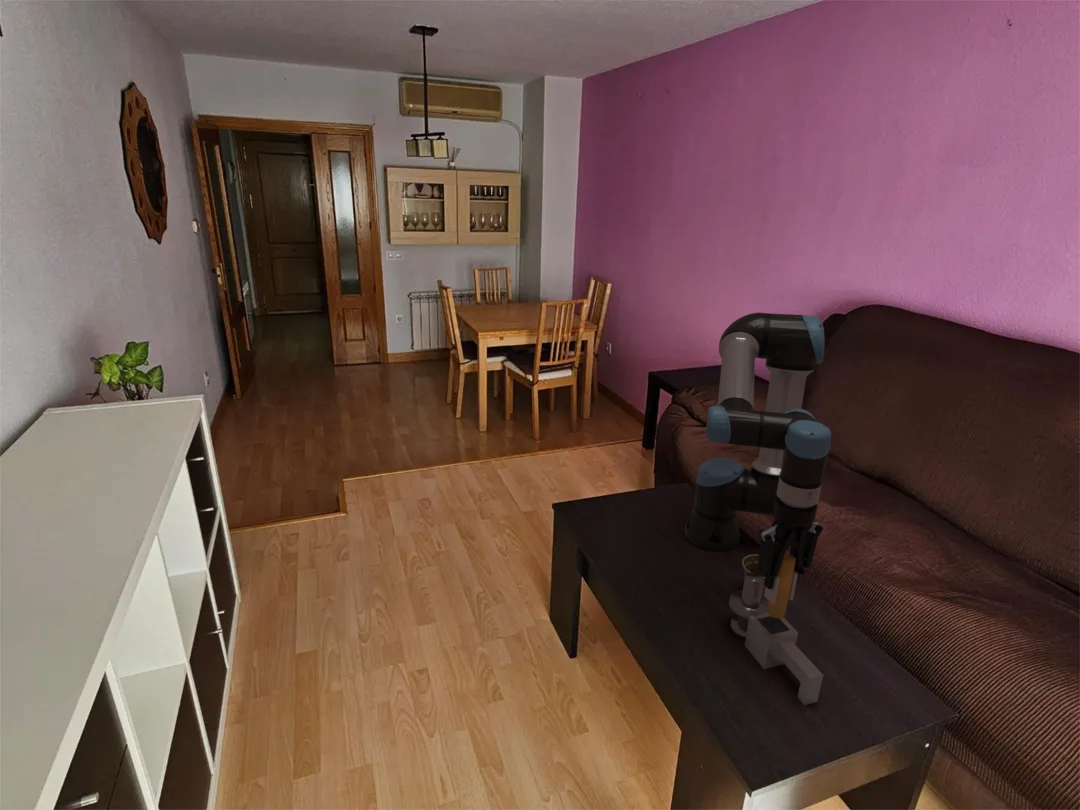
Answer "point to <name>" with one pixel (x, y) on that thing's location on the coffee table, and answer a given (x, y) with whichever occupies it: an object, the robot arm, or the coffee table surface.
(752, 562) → the flower pot
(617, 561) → the coffee table surface
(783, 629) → the rosette bracket
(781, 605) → the tapered pin
